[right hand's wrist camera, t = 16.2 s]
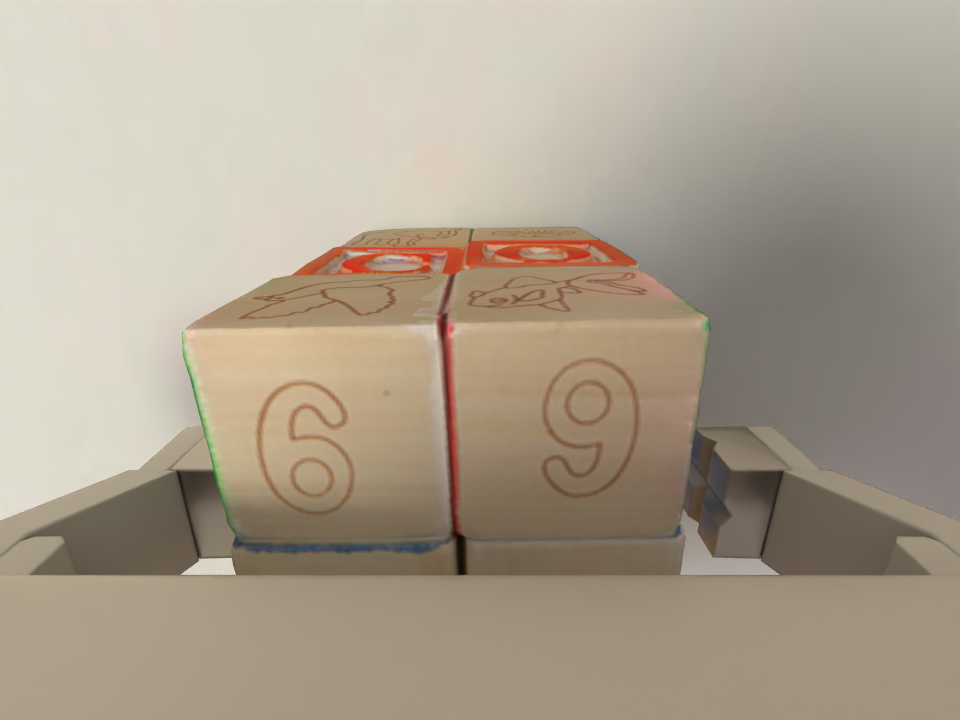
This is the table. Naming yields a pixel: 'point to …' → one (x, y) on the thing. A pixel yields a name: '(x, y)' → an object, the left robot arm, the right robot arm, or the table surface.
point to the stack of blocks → (454, 408)
